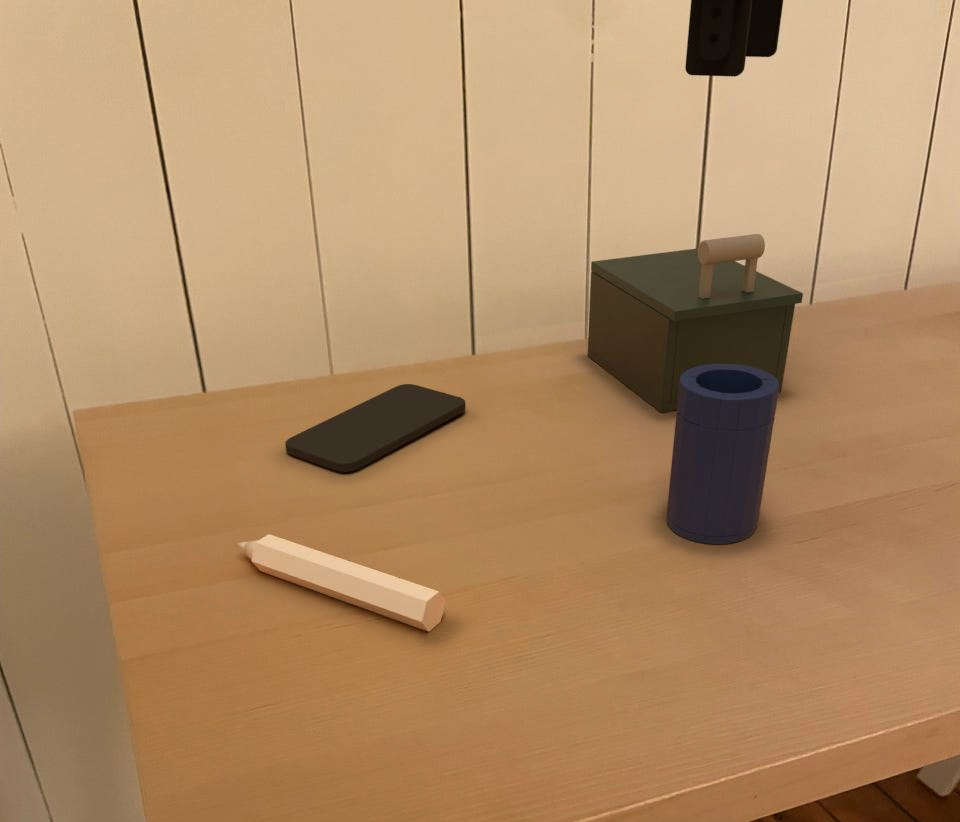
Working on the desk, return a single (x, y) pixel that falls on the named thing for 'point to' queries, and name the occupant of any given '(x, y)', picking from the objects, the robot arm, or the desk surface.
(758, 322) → the chest
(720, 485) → the jar
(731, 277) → the lid
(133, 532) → the desk surface
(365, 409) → the phone
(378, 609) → the wooden pencil
